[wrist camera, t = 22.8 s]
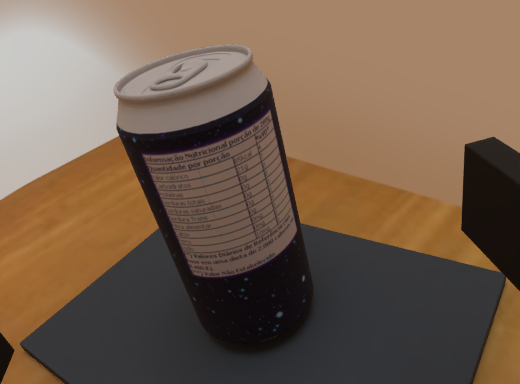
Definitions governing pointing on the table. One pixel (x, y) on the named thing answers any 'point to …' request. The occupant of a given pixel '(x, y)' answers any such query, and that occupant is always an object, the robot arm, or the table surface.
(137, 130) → the beverage can
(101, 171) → the table surface
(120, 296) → the slate mat
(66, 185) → the table surface
